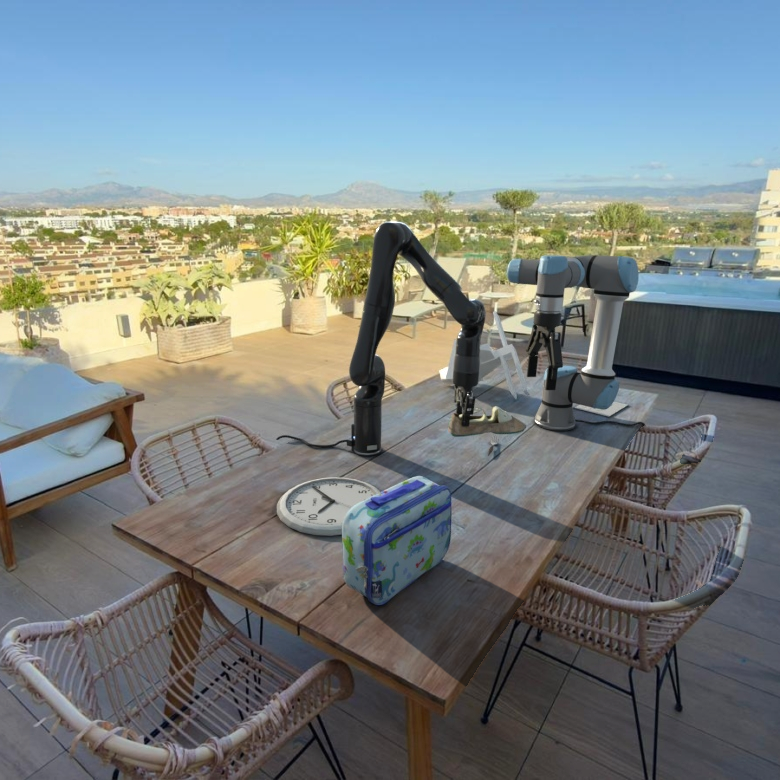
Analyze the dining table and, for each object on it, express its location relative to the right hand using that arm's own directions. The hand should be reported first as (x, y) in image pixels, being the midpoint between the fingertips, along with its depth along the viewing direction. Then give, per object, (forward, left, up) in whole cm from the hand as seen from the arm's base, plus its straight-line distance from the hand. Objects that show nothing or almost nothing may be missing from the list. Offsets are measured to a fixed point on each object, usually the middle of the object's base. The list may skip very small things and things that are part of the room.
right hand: (540, 383), depth 155 cm
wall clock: (+57, +29, -29) cm, 70 cm away
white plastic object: (+12, -82, -29) cm, 88 cm away
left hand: (+22, +3, -13) cm, 26 cm away
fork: (+11, -17, -29) cm, 36 cm away
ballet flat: (+14, +1, -16) cm, 22 cm away
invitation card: (-39, -70, -29) cm, 86 cm away
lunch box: (+36, +57, -29) cm, 73 cm away
